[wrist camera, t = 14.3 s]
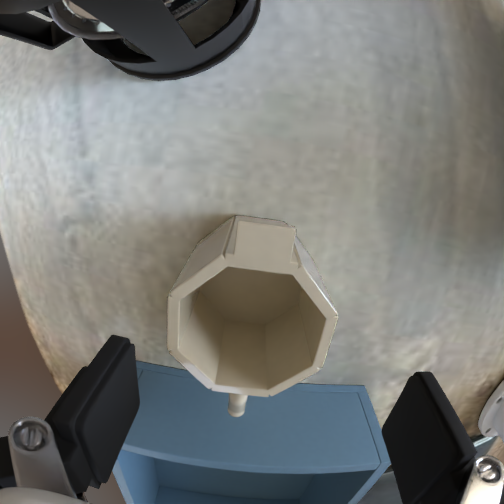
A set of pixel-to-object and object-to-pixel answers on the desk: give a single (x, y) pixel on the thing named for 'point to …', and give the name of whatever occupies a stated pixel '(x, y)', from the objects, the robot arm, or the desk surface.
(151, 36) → the french press
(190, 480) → the chest
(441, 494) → the robot arm
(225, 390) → the jug
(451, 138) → the desk surface
